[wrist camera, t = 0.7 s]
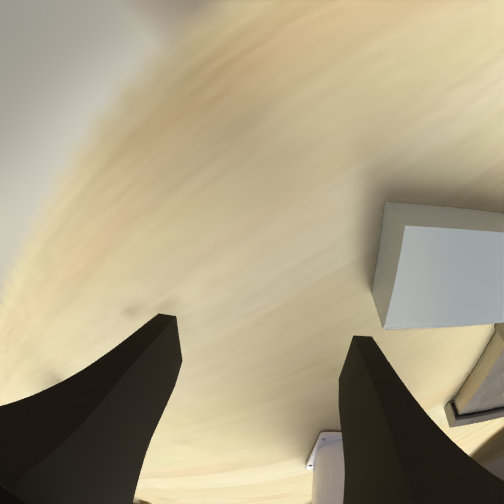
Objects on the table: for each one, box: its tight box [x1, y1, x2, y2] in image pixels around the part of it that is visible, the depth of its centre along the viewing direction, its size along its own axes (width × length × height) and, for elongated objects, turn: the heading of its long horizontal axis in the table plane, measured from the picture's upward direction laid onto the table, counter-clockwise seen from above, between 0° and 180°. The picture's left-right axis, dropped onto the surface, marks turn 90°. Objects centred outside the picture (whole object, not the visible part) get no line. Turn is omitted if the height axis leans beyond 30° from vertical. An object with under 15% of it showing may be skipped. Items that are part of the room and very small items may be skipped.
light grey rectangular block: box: [371, 202, 504, 330], centre depth 15 cm, size 6×10×4 cm, turn 92°
